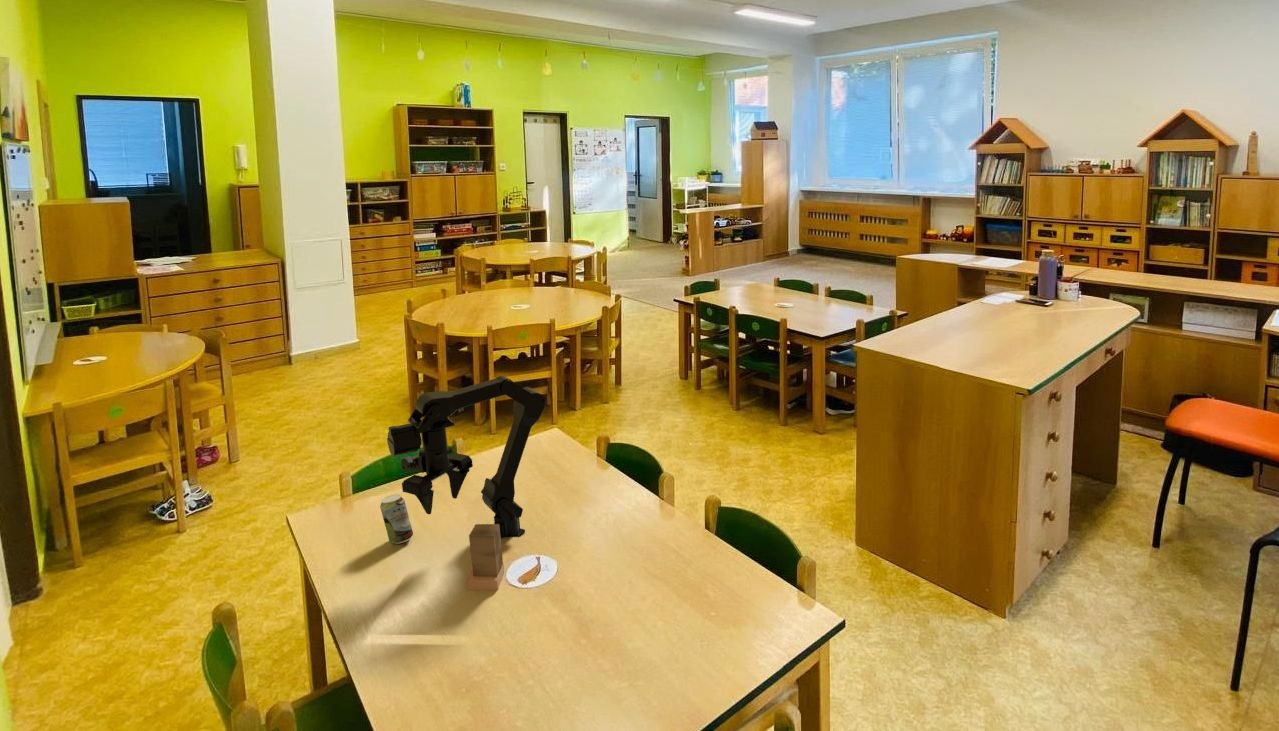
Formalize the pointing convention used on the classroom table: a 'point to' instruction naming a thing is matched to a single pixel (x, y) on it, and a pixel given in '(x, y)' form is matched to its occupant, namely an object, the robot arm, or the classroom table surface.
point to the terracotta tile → (484, 581)
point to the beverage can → (396, 519)
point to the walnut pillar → (486, 549)
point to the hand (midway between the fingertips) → (441, 505)
